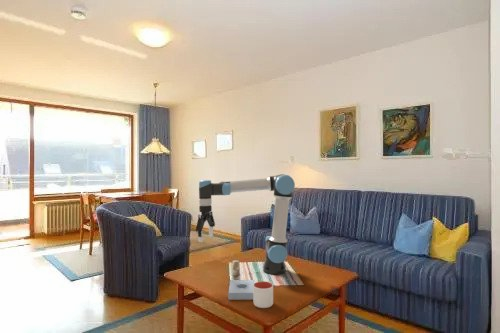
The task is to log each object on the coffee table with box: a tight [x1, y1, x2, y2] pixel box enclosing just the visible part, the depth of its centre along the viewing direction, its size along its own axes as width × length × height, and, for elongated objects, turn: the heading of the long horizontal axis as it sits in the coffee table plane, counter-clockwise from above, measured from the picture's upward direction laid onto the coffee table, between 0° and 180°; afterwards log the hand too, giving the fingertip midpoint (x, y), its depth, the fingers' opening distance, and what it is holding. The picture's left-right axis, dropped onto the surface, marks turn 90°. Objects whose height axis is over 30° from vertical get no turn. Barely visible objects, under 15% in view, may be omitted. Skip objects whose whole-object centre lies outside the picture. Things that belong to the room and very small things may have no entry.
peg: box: [232, 260, 241, 280], centre depth 189 cm, size 4×4×12 cm
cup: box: [252, 280, 274, 309], centre depth 157 cm, size 10×10×10 cm
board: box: [227, 279, 255, 301], centre depth 172 cm, size 14×18×4 cm
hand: (206, 239), depth 192 cm, fingers open, 13 cm apart
